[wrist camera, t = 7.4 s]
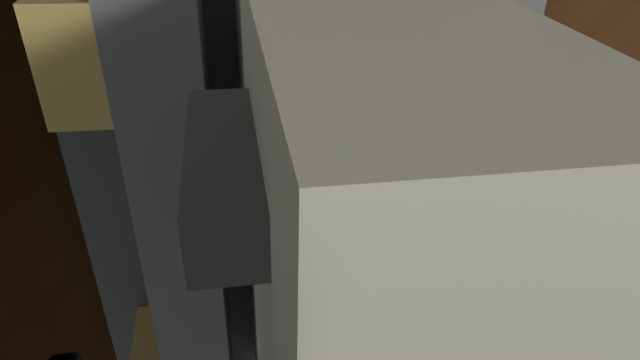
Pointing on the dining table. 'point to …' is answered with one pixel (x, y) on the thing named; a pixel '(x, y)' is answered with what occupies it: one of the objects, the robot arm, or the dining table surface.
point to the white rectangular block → (419, 183)
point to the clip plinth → (139, 157)
